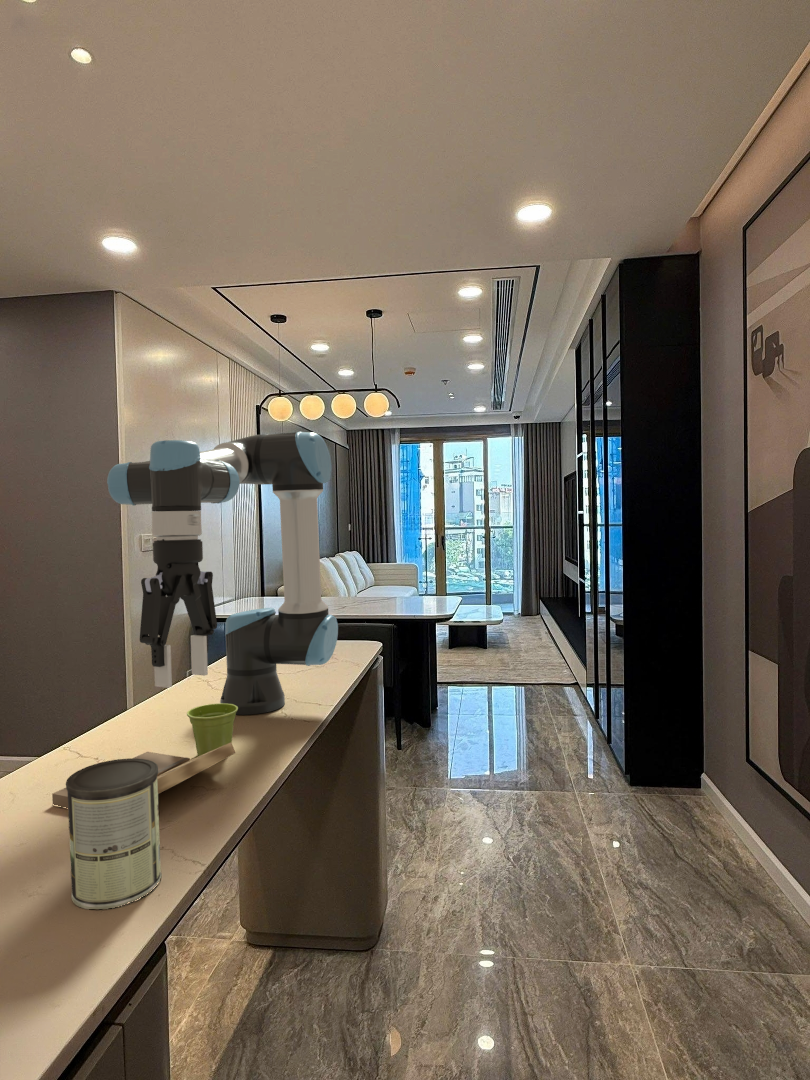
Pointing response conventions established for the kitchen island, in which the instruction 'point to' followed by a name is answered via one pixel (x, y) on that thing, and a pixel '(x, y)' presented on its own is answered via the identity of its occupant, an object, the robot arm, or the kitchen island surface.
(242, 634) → the robot arm
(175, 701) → the kitchen island surface
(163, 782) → the oak plank
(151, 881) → the coffee can
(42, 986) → the kitchen island surface
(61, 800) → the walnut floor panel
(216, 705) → the plant pot
